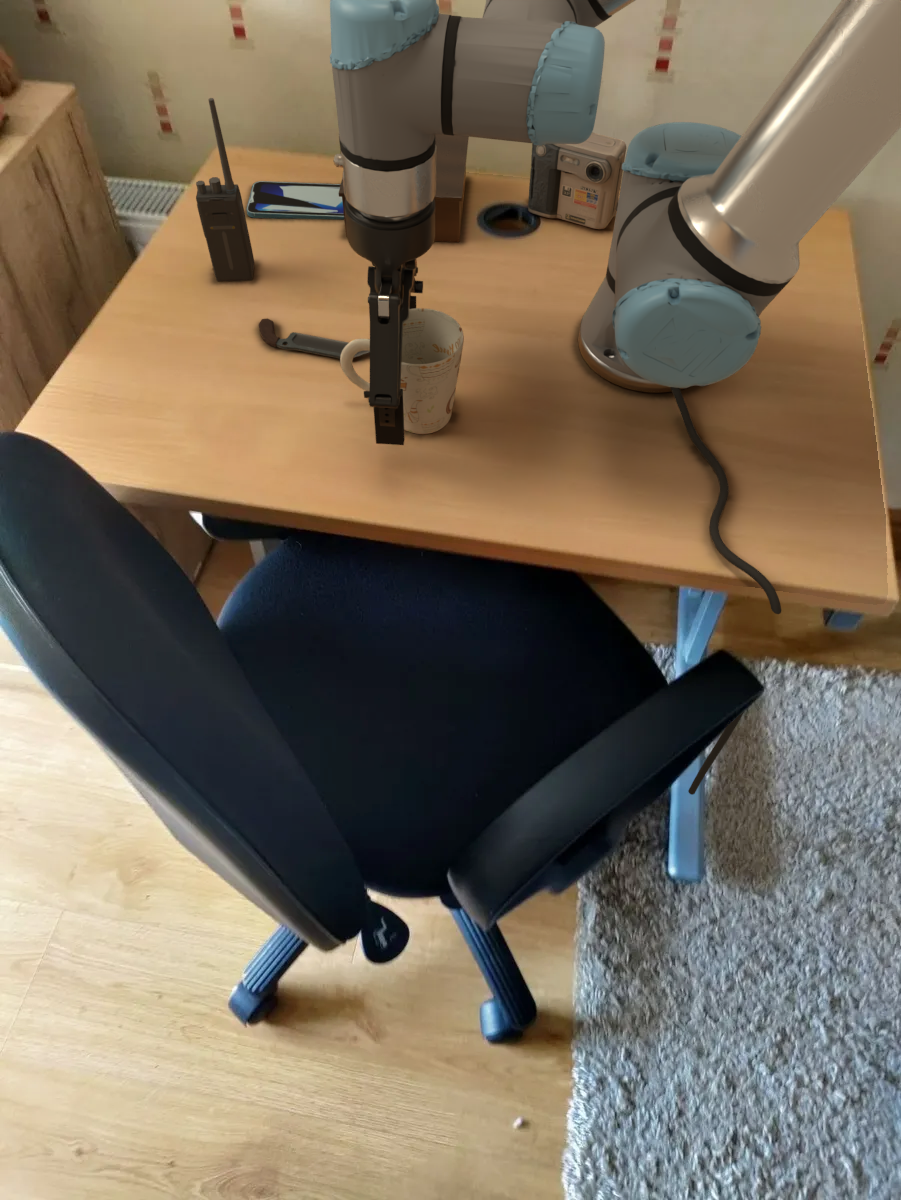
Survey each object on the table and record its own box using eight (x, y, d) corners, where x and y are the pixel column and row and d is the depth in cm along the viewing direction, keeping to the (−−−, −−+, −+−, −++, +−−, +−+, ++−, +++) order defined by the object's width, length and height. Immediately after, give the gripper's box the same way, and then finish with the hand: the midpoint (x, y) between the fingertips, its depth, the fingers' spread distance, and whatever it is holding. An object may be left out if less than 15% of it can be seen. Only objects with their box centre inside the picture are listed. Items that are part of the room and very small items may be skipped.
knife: (249, 343, 98) (248, 338, 97) (263, 321, 100) (262, 316, 99) (369, 367, 95) (368, 362, 95) (381, 343, 98) (380, 338, 97)
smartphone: (364, 217, 111) (245, 213, 111) (364, 224, 112) (246, 220, 112) (368, 184, 115) (253, 180, 115) (369, 191, 116) (254, 187, 116)
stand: (461, 243, 108) (461, 197, 103) (343, 238, 109) (338, 192, 104) (468, 178, 117) (468, 132, 112) (358, 174, 117) (354, 128, 112)
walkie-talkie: (256, 262, 106) (221, 89, 90) (254, 280, 104) (218, 105, 88) (216, 264, 106) (173, 90, 90) (214, 281, 104) (169, 107, 88)
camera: (520, 212, 112) (525, 133, 104) (539, 190, 115) (546, 111, 107) (603, 238, 109) (615, 159, 101) (621, 214, 112) (634, 135, 104)
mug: (453, 448, 89) (454, 370, 80) (333, 430, 90) (321, 352, 82) (469, 392, 93) (471, 313, 85) (354, 376, 95) (345, 297, 87)
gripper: (363, 117, 79) (375, 313, 97) (321, 289, 65) (344, 482, 83) (446, 121, 79) (443, 317, 97) (422, 295, 65) (423, 487, 83)
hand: (397, 393), depth 90 cm, fingers open, 13 cm apart
